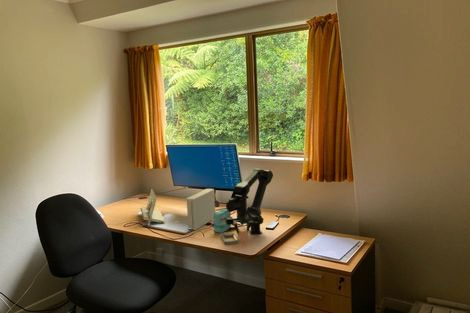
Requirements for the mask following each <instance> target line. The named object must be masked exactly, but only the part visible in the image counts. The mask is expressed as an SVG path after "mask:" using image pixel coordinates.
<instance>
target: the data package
mask: <svg viewBox="0 0 470 313" xmlns="http://www.w3.org/2000/svg"><path fill="white" fill-rule="evenodd" d="M231 213H232V212H229V211H228V210H227V208H222V209H219V210H218V211H215V213H214V219H213V227H214V230H213V231H214V233H219V234H222V233H224V232H226V231H228V230H229V228H230V229H231V227H232V225H227V224H226V222H225V218H226V217H232V216H231Z"/></svg>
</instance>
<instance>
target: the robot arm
mask: <svg viewBox="0 0 470 313" xmlns="http://www.w3.org/2000/svg"><path fill="white" fill-rule="evenodd" d="M252 170H253V171H252V172H251V173H250V174H249V175H248V176H247V177H246V178H245V180H243V181H242V182H239V183H238V184H236V185H235V186H234V187H233V191H232V194H231V196H230V198H229V199H228V201H227V202H226V204H225V209H227V210H228V211H229V212H230V213H232V212H234V211H236V217H235V218H234V217H233V216H231V217H226V218H225V222H226V224H227V225H231V226H232V227H233V226H234V229H235V231H236V232H235V233H236V234H237V236H238V235H239V232H238V227H239V226H238V223H237V222H239V223H240V225H246V229H247V231H248V233H250V235H259V234H263V232H262V230H261V225H262V224H263V223H264V217H262V211H261V206H262V202H263V199H264V196H265V193H266V188H267V186H268V185H269V184H270V183H271V182H272V179H273V176H274V174H273V172H272V171H271V170H267V169H262V168H254V169H252ZM257 180H258V184H257V188H256V191H255V194H254V198H253V201H252V203H251V204H252V205H250V206H248V203H247V202H248V201H247V199H249V196H248V194H249V193H250V189H251V187H252V186H253V185H254V184H255V182H257ZM247 206H248V207H247Z"/></svg>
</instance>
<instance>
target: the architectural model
mask: <svg viewBox="0 0 470 313" xmlns="http://www.w3.org/2000/svg"><path fill="white" fill-rule="evenodd" d="M157 200H158V199H157V196H156V194H155V191H154V190H153V189H152V188H151V190H150V193H149V197H148V202H147V205H146V206H140V208H139V209H140V211H141V215H142V218H143V220H145V221H146V222H147V223H148V224H149V225H151V224H150V223H151V222H156V223H161V222H165V223H166V220H165V217H164V215H163V214H162V211H161V210H160V209H156V208H155V207H156V203H157ZM164 220H165V221H164ZM148 224H147V225H148ZM161 224H162V223H161Z"/></svg>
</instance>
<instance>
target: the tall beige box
mask: <svg viewBox="0 0 470 313" xmlns="http://www.w3.org/2000/svg"><path fill="white" fill-rule="evenodd" d="M238 232H239V235H238V234H237V237H238V240H239V241H240V242H241V243H243V242H248V241H249V240H248V239H249V238H248V237H249V236H248V234H249V232H248V231H247V227H245V226H238Z"/></svg>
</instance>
